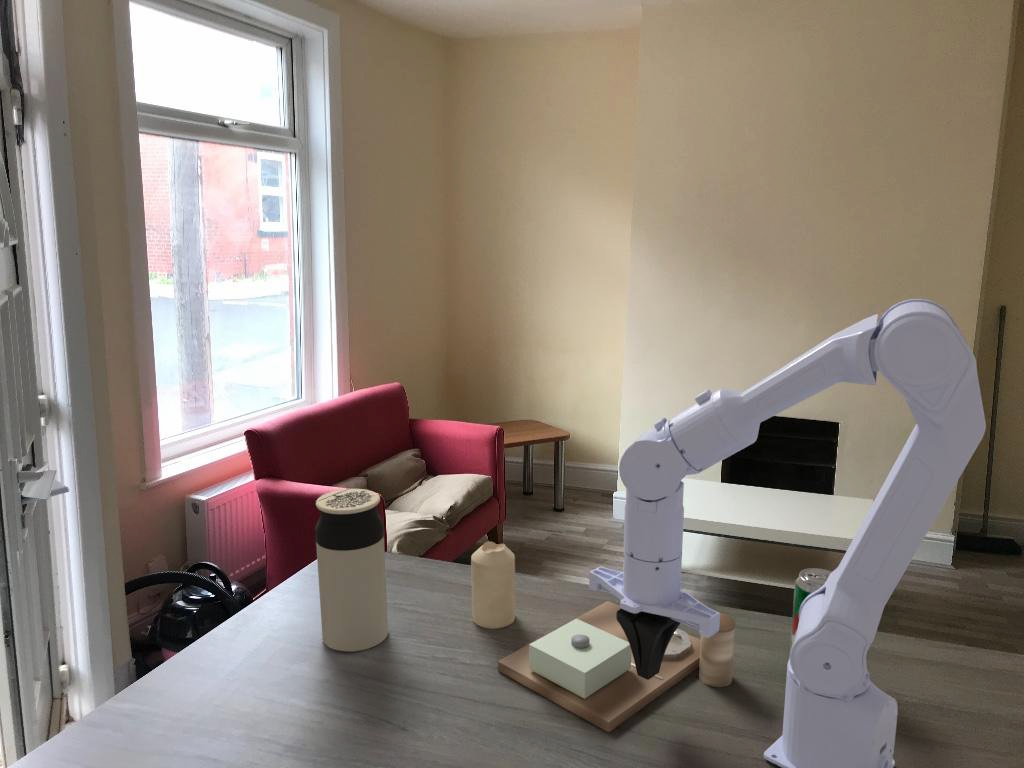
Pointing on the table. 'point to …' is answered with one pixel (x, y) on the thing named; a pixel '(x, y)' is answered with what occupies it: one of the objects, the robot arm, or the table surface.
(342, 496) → the travel mug
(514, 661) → the board
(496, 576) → the candle
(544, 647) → the cover
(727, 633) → the peg
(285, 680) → the table surface
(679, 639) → the socket ring
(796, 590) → the soda can
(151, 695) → the table surface
